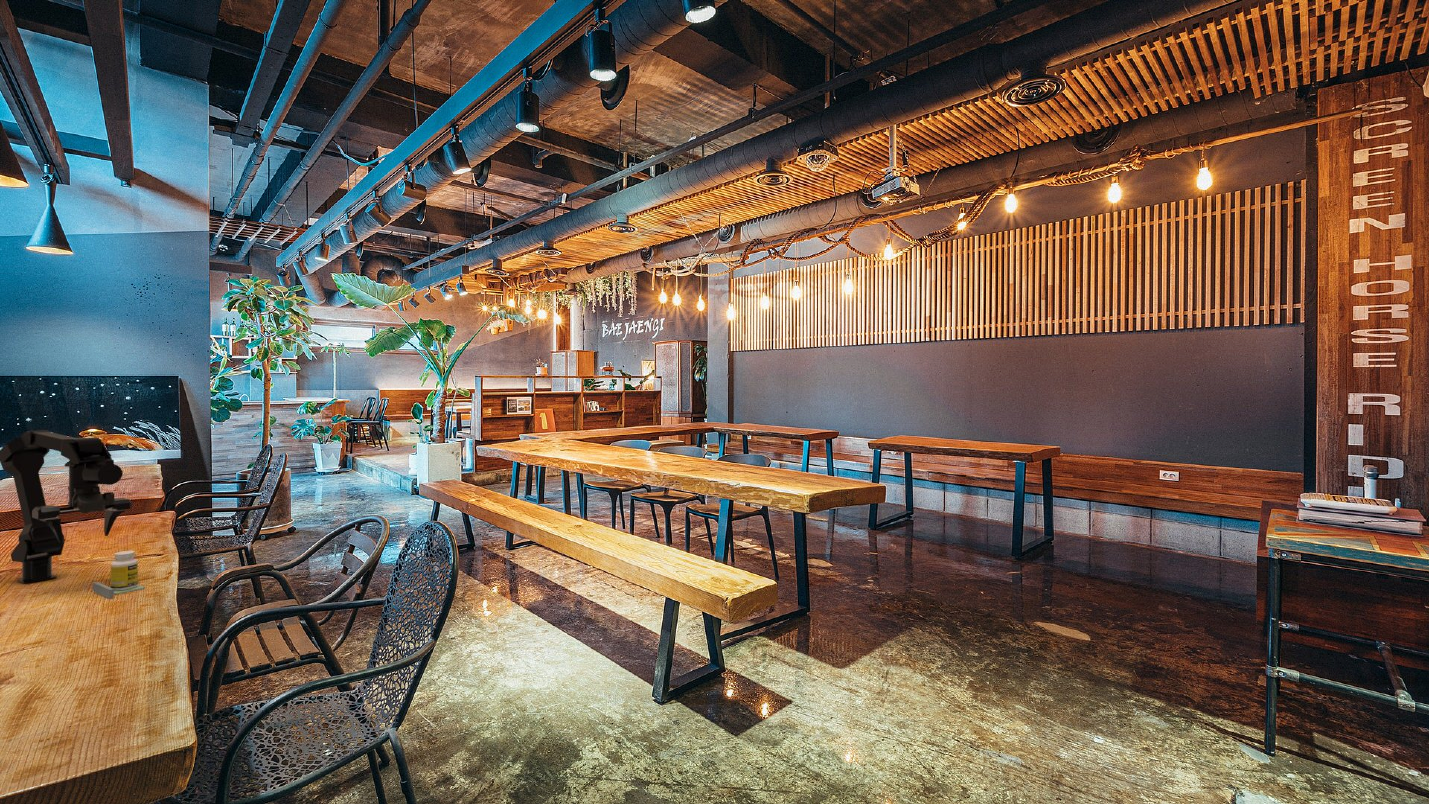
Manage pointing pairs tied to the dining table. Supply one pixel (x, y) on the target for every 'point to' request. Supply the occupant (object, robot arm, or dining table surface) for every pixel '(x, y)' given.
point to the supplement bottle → (124, 571)
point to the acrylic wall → (103, 590)
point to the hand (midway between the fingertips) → (83, 539)
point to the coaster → (129, 590)
